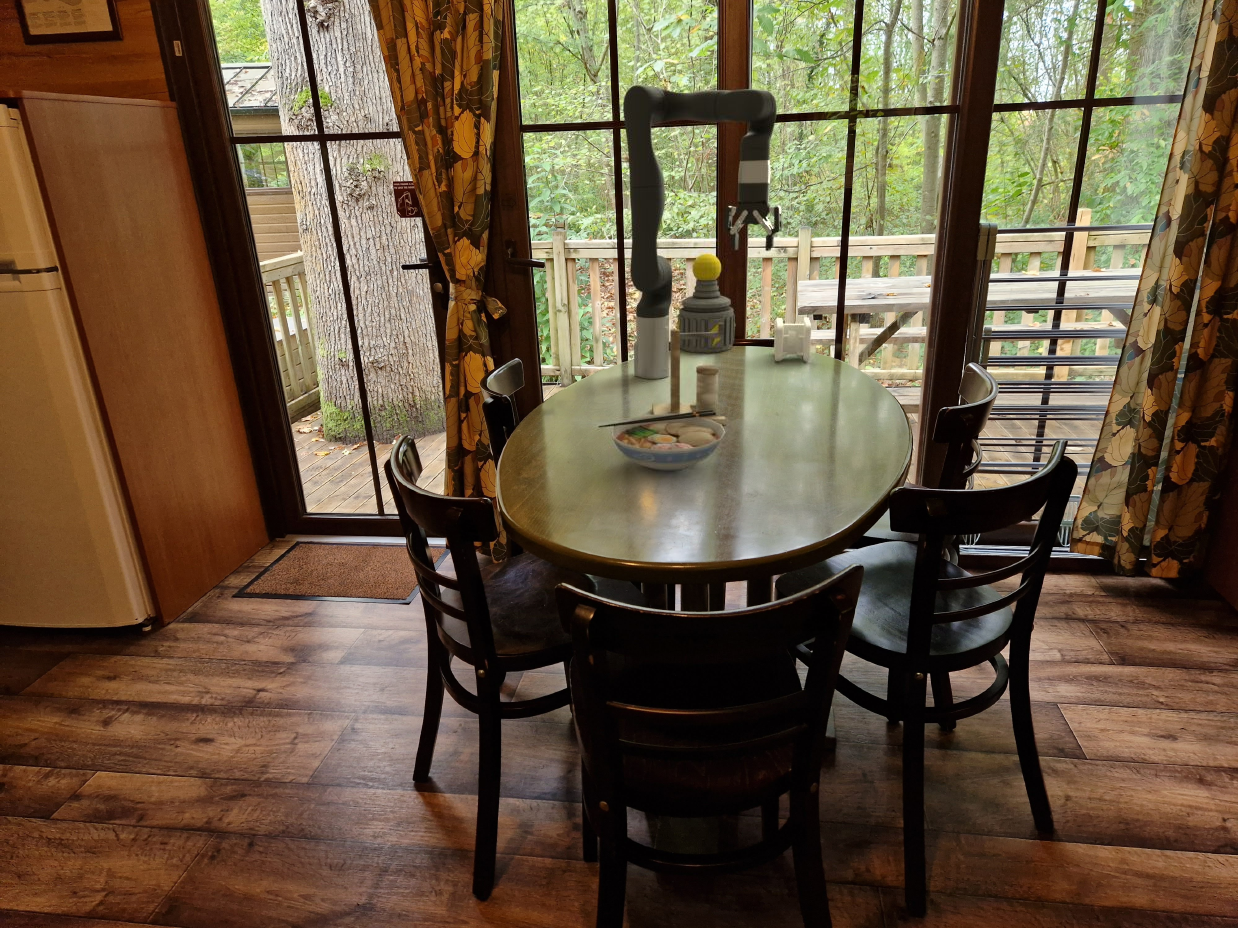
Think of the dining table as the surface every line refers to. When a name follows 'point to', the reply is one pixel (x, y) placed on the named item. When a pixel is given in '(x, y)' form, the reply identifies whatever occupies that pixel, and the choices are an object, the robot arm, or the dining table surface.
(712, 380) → the cord spool
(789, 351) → the cable organizer
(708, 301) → the decorative lamp
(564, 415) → the dining table surface
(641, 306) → the robot arm
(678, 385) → the hook stand
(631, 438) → the ramen bowl
